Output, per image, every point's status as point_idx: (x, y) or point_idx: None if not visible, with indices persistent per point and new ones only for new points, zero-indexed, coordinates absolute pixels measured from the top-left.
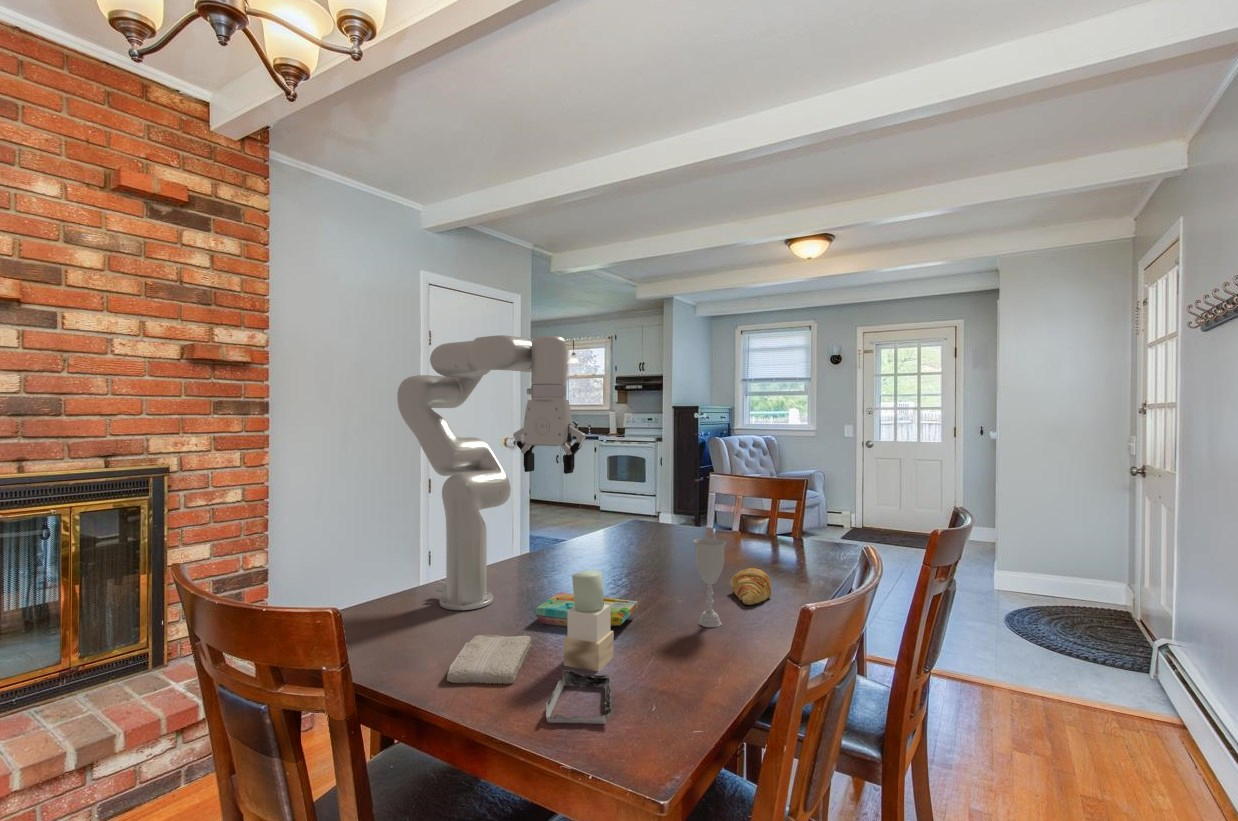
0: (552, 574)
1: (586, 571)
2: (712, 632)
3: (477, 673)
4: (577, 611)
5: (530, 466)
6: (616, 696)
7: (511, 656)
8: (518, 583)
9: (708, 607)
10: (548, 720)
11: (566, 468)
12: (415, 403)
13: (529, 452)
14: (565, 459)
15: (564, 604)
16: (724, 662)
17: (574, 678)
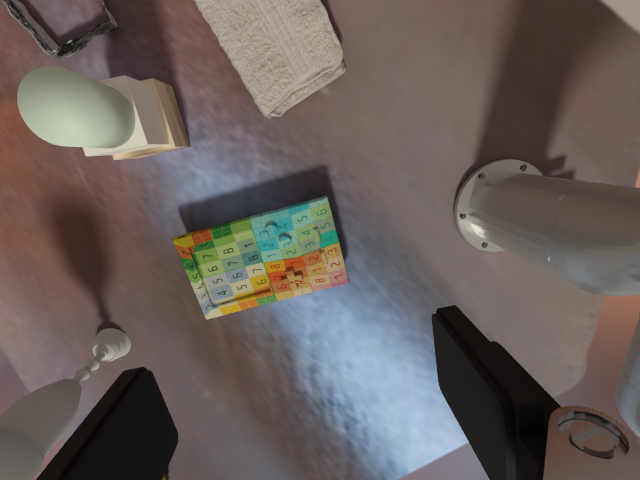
0: None
1: (85, 133)
2: (87, 315)
3: None
4: (105, 83)
5: (447, 366)
6: (33, 41)
7: (222, 18)
8: (483, 327)
9: (98, 355)
10: None
11: (107, 393)
12: None
13: (525, 465)
14: (62, 453)
15: (292, 236)
16: (3, 231)
17: (98, 30)
